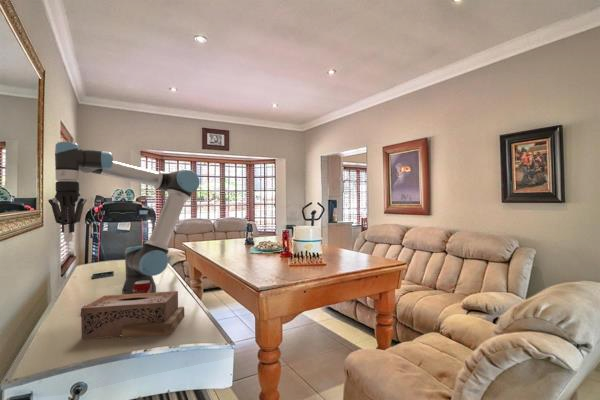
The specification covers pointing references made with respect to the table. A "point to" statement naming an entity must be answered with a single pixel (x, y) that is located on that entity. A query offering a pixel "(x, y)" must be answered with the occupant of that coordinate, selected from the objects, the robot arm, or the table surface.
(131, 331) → the walnut fence
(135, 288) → the soda can
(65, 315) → the table surface
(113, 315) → the tissue box cover
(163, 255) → the robot arm
